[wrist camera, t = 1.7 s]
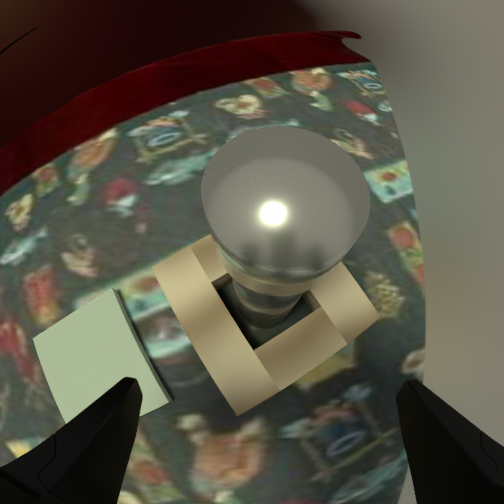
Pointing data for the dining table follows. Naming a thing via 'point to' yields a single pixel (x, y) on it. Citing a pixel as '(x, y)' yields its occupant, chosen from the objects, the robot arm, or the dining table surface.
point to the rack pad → (96, 357)
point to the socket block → (272, 352)
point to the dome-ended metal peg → (281, 215)
